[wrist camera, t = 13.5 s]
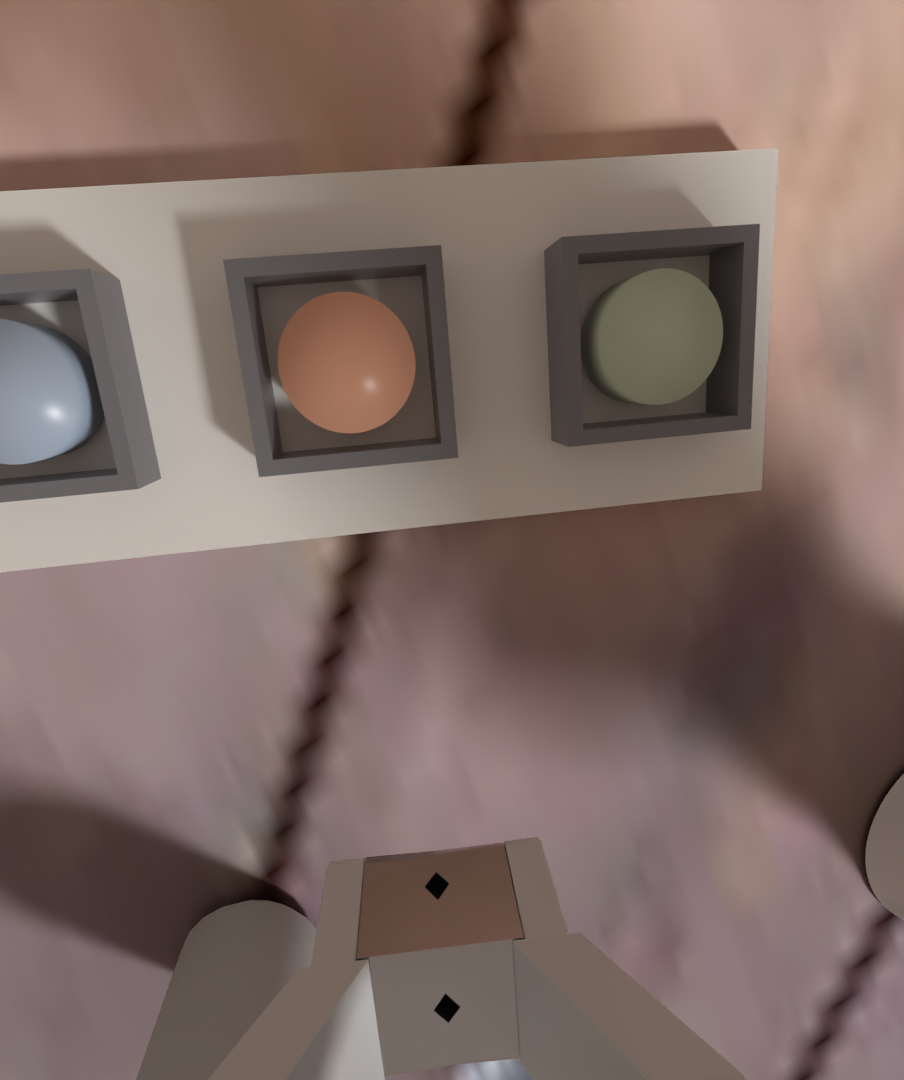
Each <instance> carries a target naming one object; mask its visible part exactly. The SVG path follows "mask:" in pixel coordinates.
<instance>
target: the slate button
mask: <svg viewBox="0 0 904 1080" xmlns="http://www.w3.org/2000/svg"><path fill="white" fill-rule="evenodd" d="M103 415H104V411H103V407H102V402H101V398H100V393H99V389H98V385H97V380H96V376H95V371H94V367H93V363H92V359H91V358H90V357H89V355H88V354H87V353H86V352H85V351H84V350H83V348H82V347H81V346H79V345H78V344H77V343H76V342H75V341H74V340H72V339H71V338H69V337H68V336H66V335H65V334H63V333H61V332H59V331H57V330H54V329H52V328H49V327H46V326H42V325H38V324H32V323H26V322H20V321H13V320H7V319H0V463H1V464H10V465H15V464H27V463H32V462H36V461H40V460H45V459H49V458H53V457H57V456H61V455H65V454H68V453H71V452H73V451H75V450H77V449H79V448H80V447H82V446H83V445H85V444H86V443H87V442H88V441H89V440H90V439H91V438H92V437H93V436H94V434H95V433H96V431H97V430H98V428H99V426H100V424H101V422H102V419H103Z"/></svg>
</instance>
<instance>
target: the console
mask: <svg viewBox="0 0 904 1080" xmlns="http://www.w3.org/2000/svg"><path fill="white" fill-rule="evenodd" d="M778 150H779V148H770V149H752V150H735V151H717V152H699V153H681V154H663V155H645V156H627V157H609V158H591V159H573V160H555V161H537V162H519V163H501V164H483V165H465V166H447V167H429V168H411V169H393V170H375V171H357V172H339V173H321V174H303V175H285V176H267V177H249V178H231V179H214V180H196V181H178V182H160V183H142V184H124V185H106V186H88V187H70V188H52V189H34V190H16V191H0V319H7V320H13V321H20V322H26V323H32V324H38V325H42V326H46V327H49V328H52V329H54V330H57V331H59V332H61V333H63V334H65V335H66V336H68V337H69V338H71V339H72V340H74V341H75V342H76V343H77V344H78V345H79V346H81V347H82V348H83V350H84V351H85V352H86V353H87V354H88V355H89V357H90V358H91V359H92V363H93V367H94V371H95V376H96V380H97V385H98V389H99V393H100V398H101V402H102V407H103V411H104V415H103V419H102V422H101V424H100V426H99V428H98V430H97V431H96V433H95V434H94V436H93V437H92V438H91V439H90V440H89V441H88V442H87V443H86V444H85V445H83V446H82V447H80V448H79V449H77V450H75V451H73V452H71V453H68V454H65V455H61V456H57V457H53V458H49V459H45V460H40V461H36V462H32V463H27V464H15V465H10V464H1V463H0V572H8V571H17V570H26V569H35V568H45V567H54V566H63V565H73V564H82V563H91V562H100V561H110V560H119V559H128V558H138V557H147V556H156V555H166V554H175V553H184V552H193V551H203V550H212V549H221V548H231V547H240V546H249V545H258V544H268V543H277V542H286V541H296V540H305V539H314V538H324V537H333V536H342V535H351V534H361V533H370V532H379V531H389V530H398V529H407V528H416V527H426V526H435V525H444V524H454V523H463V522H472V521H482V520H491V519H500V518H509V517H519V516H528V515H537V514H547V513H556V512H565V511H574V510H584V509H593V508H602V507H612V506H621V505H630V504H640V503H649V502H658V501H667V500H677V499H686V498H695V497H705V496H714V495H723V494H732V493H742V492H751V491H760V490H762V472H763V452H764V432H765V412H766V391H767V371H768V351H769V331H770V311H771V291H772V271H773V251H774V230H775V210H776V190H777V170H778ZM661 268H671V269H678V270H681V271H685V272H687V273H689V274H691V275H693V276H695V277H696V278H698V279H699V280H701V281H702V282H703V283H704V284H705V285H706V286H707V287H708V289H709V290H710V291H711V292H712V294H713V296H714V297H715V299H716V301H717V303H718V306H719V308H720V312H721V315H722V321H723V341H722V347H721V351H720V354H719V357H718V360H717V362H716V364H715V366H714V368H713V370H712V372H711V373H710V375H709V376H708V377H707V379H706V380H705V381H704V382H703V383H702V384H701V385H700V386H699V387H698V388H697V389H696V390H695V391H694V392H692V393H691V394H689V395H688V396H686V397H684V398H682V399H680V400H678V401H675V402H672V403H668V404H662V405H649V404H638V403H628V402H622V401H618V400H615V399H613V398H611V397H609V396H607V395H606V394H604V393H603V392H601V391H600V390H599V389H598V388H597V387H596V386H595V385H594V384H593V382H592V381H591V380H590V378H589V376H588V375H587V373H586V371H585V368H584V365H583V362H582V358H581V339H580V338H581V332H582V327H583V324H584V321H585V318H586V316H587V314H588V312H589V310H590V308H591V307H592V305H593V304H594V303H595V301H596V300H597V299H598V298H599V297H600V296H601V295H602V294H603V293H604V292H605V291H606V290H608V289H609V288H610V287H612V286H614V285H615V284H617V283H620V282H622V281H624V280H627V279H629V278H632V277H634V276H636V275H639V274H641V273H644V272H647V271H650V270H654V269H661ZM333 292H354V293H359V294H363V295H366V296H369V297H371V298H373V299H375V300H377V301H379V302H380V303H382V304H384V305H385V306H386V307H387V308H389V309H390V310H391V311H392V312H393V313H394V314H395V315H396V316H397V317H398V318H399V320H400V321H401V322H402V324H403V325H404V327H405V329H406V330H407V332H408V334H409V337H410V339H411V341H412V345H413V348H414V354H415V364H416V369H415V378H414V383H413V387H412V389H411V392H410V395H409V397H408V398H407V400H406V402H405V404H404V405H403V406H402V408H401V409H400V410H399V411H398V413H397V414H396V415H395V416H394V417H392V418H391V419H390V420H389V421H387V422H386V423H384V424H383V425H381V426H379V427H377V428H375V429H372V430H369V431H365V432H360V433H339V432H334V431H330V430H327V429H325V428H322V427H320V426H318V425H316V424H314V423H312V422H311V421H310V420H308V419H307V418H305V417H304V416H303V415H302V414H301V413H300V412H299V411H298V410H297V409H296V408H295V406H294V405H293V404H292V403H291V401H290V400H289V398H288V396H287V394H286V392H285V390H284V388H283V386H282V383H281V380H280V376H279V371H278V348H279V342H280V339H281V336H282V333H283V331H284V329H285V327H286V325H287V323H288V322H289V320H290V319H291V317H292V316H293V315H294V314H295V313H296V311H297V310H298V309H300V308H301V307H302V306H303V305H304V304H306V303H307V302H309V301H311V300H312V299H314V298H316V297H319V296H321V295H325V294H328V293H333Z"/></svg>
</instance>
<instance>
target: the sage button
mask: <svg viewBox="0 0 904 1080" xmlns="http://www.w3.org/2000/svg"><path fill="white" fill-rule="evenodd" d="M580 339H581V358H582V362H583V365H584V368H585V371H586V373H587V375H588V376H589V378H590V380H591V381H592V382H593V384H594V385H595V386H596V387H597V388H598V389H599V390H600V391H601V392H603V393H604V394H606V395H607V396H609V397H611V398H613V399H615V400H618V401H622V402H628V403H638V404H649V405H662V404H668V403H672V402H675V401H678V400H680V399H682V398H684V397H686V396H688V395H689V394H691V393H692V392H694V391H695V390H696V389H697V388H698V387H699V386H700V385H701V384H702V383H703V382H704V381H705V380H706V379H707V377H708V376H709V375H710V373H711V372H712V370H713V368H714V366H715V364H716V362H717V360H718V357H719V354H720V351H721V347H722V341H723V321H722V315H721V312H720V308H719V306H718V303H717V301H716V299H715V297H714V296H713V294H712V292H711V291H710V290H709V289H708V287H707V286H706V285H705V284H704V283H703V282H702V281H701V280H699V279H698V278H696V277H695V276H693V275H691V274H689V273H687V272H685V271H681V270H678V269H671V268H661V269H654V270H650V271H647V272H644V273H641V274H639V275H636V276H634V277H632V278H629V279H627V280H624V281H622V282H620V283H617V284H615V285H614V286H612V287H610V288H609V289H608V290H606V291H605V292H604V293H603V294H602V295H601V296H600V297H599V298H598V299H597V300H596V301H595V303H594V304H593V305H592V307H591V308H590V310H589V312H588V314H587V316H586V318H585V321H584V324H583V327H582V332H581V338H580Z"/></svg>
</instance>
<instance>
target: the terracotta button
mask: <svg viewBox="0 0 904 1080" xmlns="http://www.w3.org/2000/svg"><path fill="white" fill-rule="evenodd" d="M415 369H416V364H415V354H414V348H413V345H412V341H411V339H410V337H409V334H408V332H407V330H406V329H405V327H404V325H403V324H402V322H401V321H400V320H399V318H398V317H397V316H396V315H395V314H394V313H393V312H392V311H391V310H390V309H389V308H387V307H386V306H385V305H384V304H382V303H380V302H379V301H377V300H375V299H373V298H371V297H369V296H366V295H363V294H359V293H354V292H333V293H328V294H325V295H321V296H319V297H316V298H314V299H312V300H311V301H309V302H307V303H306V304H304V305H303V306H302V307H301V308H300V309H298V310H297V311H296V313H295V314H294V315H293V316H292V317H291V319H290V320H289V322H288V323H287V325H286V327H285V329H284V331H283V333H282V336H281V339H280V342H279V348H278V371H279V376H280V380H281V383H282V386H283V388H284V390H285V392H286V394H287V396H288V398H289V400H290V401H291V403H292V404H293V405H294V406H295V408H296V409H297V410H298V411H299V412H300V413H301V414H302V415H303V416H304V417H305V418H307V419H308V420H310V421H311V422H312V423H314V424H316V425H318V426H320V427H322V428H325V429H327V430H330V431H334V432H339V433H360V432H365V431H369V430H372V429H375V428H377V427H379V426H381V425H383V424H384V423H386V422H387V421H389V420H390V419H391V418H392V417H394V416H395V415H396V414H397V413H398V411H399V410H400V409H401V408H402V406H403V405H404V404H405V402H406V400H407V398H408V397H409V395H410V392H411V389H412V387H413V383H414V378H415Z"/></svg>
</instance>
